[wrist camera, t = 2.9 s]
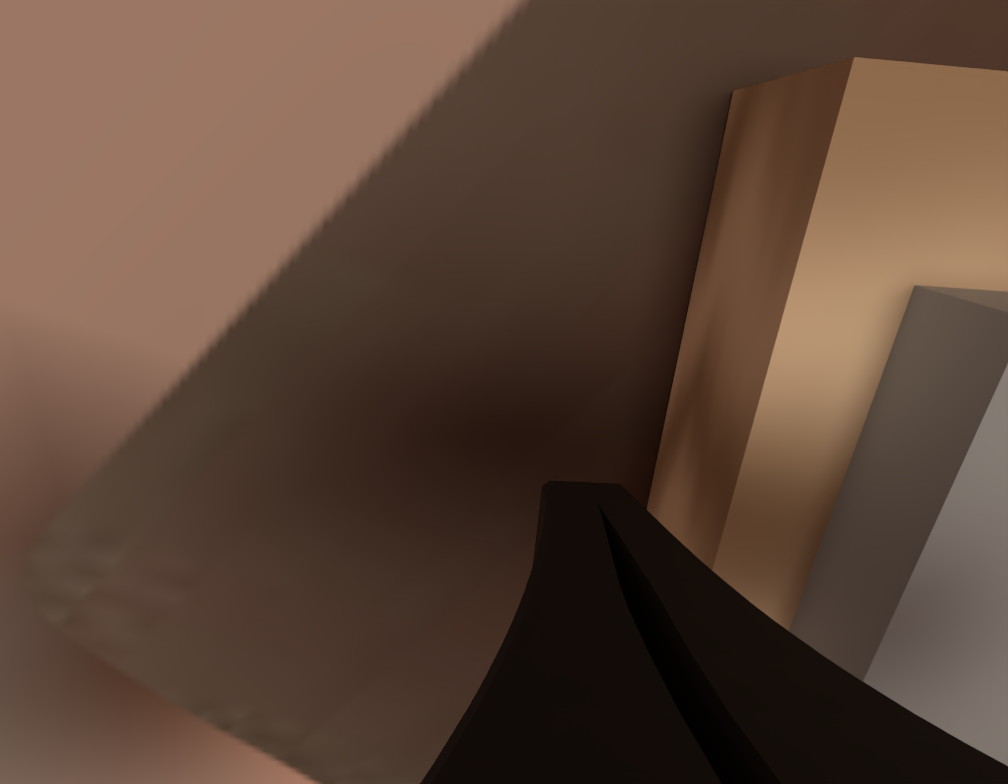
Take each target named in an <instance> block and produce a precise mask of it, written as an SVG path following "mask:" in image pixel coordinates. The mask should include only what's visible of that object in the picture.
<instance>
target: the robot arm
mask: <svg viewBox="0 0 1008 784" xmlns="http://www.w3.org/2000/svg"><path fill="white" fill-rule="evenodd" d="M420 784H1008V766H1007V765H1005V764H1003V763H1001V762H999V761H997V760H996V759H994V758H992V757H990V756H988V755H986V754H985V753H983V752H981V751H979V750H977V749H975V748H974V747H972V746H970V745H968V744H966V743H964V742H963V741H961V740H959V739H957V738H956V737H954V736H952V735H951V734H949V733H947V732H945V731H944V730H942V729H940V728H938V727H937V726H935V725H933V724H932V723H930V722H928V721H926V720H925V719H923V718H921V717H919V716H918V715H916V714H914V713H913V712H911V711H909V710H908V709H906V708H905V707H903V706H901V705H900V704H898V703H897V702H895V701H893V700H892V699H890V698H888V697H887V696H885V695H884V694H882V693H880V692H879V691H877V690H876V689H874V688H872V687H871V686H869V685H868V684H866V683H864V682H863V681H861V680H860V679H858V678H856V677H855V676H853V675H852V674H850V673H849V672H847V671H846V670H844V669H843V668H841V667H840V666H838V665H837V664H835V663H834V662H832V661H831V660H829V659H827V658H826V657H825V656H823V655H822V654H820V653H819V652H817V651H816V650H815V649H813V648H812V647H810V646H809V645H808V644H806V643H805V642H803V641H802V640H801V639H799V638H798V637H796V636H795V635H794V634H792V633H791V632H789V631H788V630H787V629H785V628H784V627H782V626H781V625H780V624H778V623H777V622H775V621H774V620H773V619H771V618H770V617H769V616H768V615H766V614H765V613H764V612H762V611H761V610H760V609H758V608H757V607H756V606H755V605H753V604H752V603H751V602H750V601H748V600H747V599H746V598H745V597H743V596H742V595H741V594H740V593H739V592H737V591H736V590H735V589H734V588H733V587H731V586H730V585H729V584H728V583H726V582H725V581H724V580H723V579H722V578H720V577H719V576H718V575H717V574H716V573H715V572H713V571H712V570H711V569H710V568H709V567H708V566H707V565H705V564H704V563H703V562H702V561H701V560H700V559H699V558H697V557H696V556H695V555H694V554H693V553H692V552H691V551H690V550H689V549H688V548H686V547H685V546H684V545H683V544H682V543H681V542H680V541H679V540H678V539H677V538H676V537H675V536H674V535H673V534H671V533H670V532H669V531H668V530H667V529H666V528H665V527H664V526H663V525H662V524H661V523H660V522H659V521H658V520H657V519H656V518H655V517H654V516H653V515H652V514H651V513H650V512H649V511H648V510H646V509H645V508H644V507H643V506H642V505H641V504H640V503H639V502H638V501H637V500H636V499H635V498H634V497H633V496H632V495H631V494H630V493H629V492H628V491H627V490H626V489H624V488H623V487H622V486H621V485H620V484H607V483H586V482H565V481H549V482H547V483H546V484H545V485H543V486H542V492H541V501H540V509H539V518H538V527H537V535H536V544H535V552H534V561H533V568H532V571H531V574H530V577H529V580H528V583H527V586H526V589H525V592H524V594H523V597H522V599H521V602H520V605H519V607H518V610H517V612H516V614H515V617H514V619H513V621H512V624H511V626H510V628H509V630H508V632H507V635H506V637H505V639H504V641H503V643H502V645H501V647H500V649H499V651H498V653H497V655H496V657H495V659H494V661H493V663H492V665H491V667H490V669H489V671H488V673H487V675H486V677H485V679H484V681H483V683H482V684H481V686H480V688H479V690H478V692H477V693H476V695H475V697H474V699H473V700H472V702H471V704H470V706H469V707H468V709H467V711H466V712H465V714H464V715H463V717H462V719H461V720H460V722H459V724H458V725H457V727H456V728H455V730H454V732H453V733H452V735H451V736H450V738H449V740H448V741H447V743H446V745H445V746H444V748H443V749H442V751H441V753H440V754H439V756H438V758H437V759H436V761H435V762H434V764H433V765H432V767H431V768H430V770H429V771H428V773H427V774H426V776H425V777H424V779H423V780H422V782H421V783H420Z"/></svg>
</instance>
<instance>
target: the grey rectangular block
mask: <svg viewBox="0 0 1008 784" xmlns="http://www.w3.org/2000/svg"><path fill="white" fill-rule="evenodd" d="M789 632H791V633H792V634H794V635H795V636H796V637H798V638H799V639H801V640H802V641H803V642H805V643H806V644H808V645H809V646H810V647H812V648H813V649H815V650H816V651H817V652H819V653H820V654H822V655H823V656H825V657H826V658H827V659H829V660H831V661H832V662H834V663H835V664H837V665H838V666H840V667H841V668H843V669H844V670H846V671H847V672H849V673H850V674H852V675H853V676H855V677H856V678H858V679H860V680H861V681H863V682H864V683H866V684H868V685H869V686H871V687H872V688H874V689H876V690H877V691H879V692H880V693H882V694H884V695H885V696H887V697H888V698H890V699H892V700H893V701H895V702H897V703H898V704H900V705H901V706H903V707H905V708H906V709H908V710H909V711H911V712H913V713H914V714H916V715H918V716H919V717H921V718H923V719H925V720H926V721H928V722H930V723H932V724H933V725H935V726H937V727H938V728H940V729H942V730H944V731H945V732H947V733H949V734H951V735H952V736H954V737H956V738H957V739H959V740H961V741H963V742H964V743H966V744H968V745H970V746H972V747H974V748H975V749H977V750H979V751H981V752H983V753H985V754H986V755H988V756H990V757H992V758H994V759H996V760H997V761H999V762H1001V763H1003V764H1005V765H1007V766H1008V292H1006V291H991V290H977V289H962V288H948V287H934V286H919V285H915V286H914V288H913V291H912V294H911V297H910V299H909V302H908V305H907V308H906V310H905V313H904V316H903V319H902V321H901V324H900V327H899V330H898V332H897V335H896V338H895V341H894V343H893V346H892V349H891V352H890V354H889V357H888V360H887V362H886V365H885V368H884V371H883V373H882V376H881V379H880V382H879V384H878V387H877V390H876V393H875V395H874V398H873V401H872V404H871V406H870V409H869V412H868V415H867V417H866V420H865V423H864V426H863V428H862V431H861V434H860V437H859V439H858V442H857V445H856V448H855V450H854V453H853V456H852V459H851V461H850V464H849V467H848V470H847V472H846V475H845V478H844V481H843V483H842V486H841V489H840V492H839V494H838V497H837V500H836V503H835V505H834V508H833V511H832V514H831V516H830V519H829V522H828V525H827V527H826V530H825V533H824V536H823V538H822V541H821V544H820V547H819V549H818V552H817V555H816V558H815V560H814V563H813V566H812V569H811V571H810V574H809V577H808V580H807V582H806V585H805V588H804V591H803V593H802V596H801V599H800V602H799V604H798V607H797V610H796V613H795V615H794V618H793V621H792V624H791V626H790V629H789Z"/></svg>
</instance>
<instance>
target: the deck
mask: <svg viewBox="0 0 1008 784" xmlns="http://www.w3.org/2000/svg"><path fill="white" fill-rule="evenodd" d="M915 285H919V286H934V287H948V288H962V289H977V290H991V291H1006V292H1008V71H998V70H987V69H976V68H965V67H955V66H944V65H933V64H922V63H911V62H901V61H890V60H879V59H868V58H857V57H853V58H850V59H846V60H842V61H839V62H835V63H832V64H828V65H825V66H821V67H817V68H814V69H810V70H807V71H803V72H800V73H796V74H793V75H789V76H785V77H782V78H778V79H775V80H771V81H768V82H764V83H760V84H757V85H753V86H750V87H746V88H743V89H739V90H735V91H733V95H732V99H731V104H730V109H729V114H728V119H727V124H726V128H725V133H724V138H723V143H722V148H721V153H720V157H719V162H718V167H717V172H716V177H715V182H714V186H713V191H712V196H711V201H710V206H709V211H708V215H707V220H706V225H705V230H704V235H703V240H702V244H701V249H700V254H699V259H698V264H697V269H696V273H695V278H694V283H693V288H692V293H691V298H690V302H689V307H688V312H687V317H686V322H685V326H684V331H683V336H682V341H681V346H680V351H679V355H678V360H677V365H676V370H675V375H674V380H673V384H672V389H671V394H670V399H669V404H668V409H667V413H666V418H665V423H664V428H663V433H662V438H661V442H660V447H659V452H658V457H657V462H656V467H655V471H654V476H653V481H652V486H651V491H650V496H649V500H648V505H647V510H648V511H649V512H650V513H651V514H652V515H653V516H654V517H655V518H656V519H657V520H658V521H659V522H660V523H661V524H662V525H663V526H664V527H665V528H666V529H667V530H668V531H669V532H670V533H671V534H673V535H674V536H675V537H676V538H677V539H678V540H679V541H680V542H681V543H682V544H683V545H684V546H685V547H686V548H688V549H689V550H690V551H691V552H692V553H693V554H694V555H695V556H696V557H697V558H699V559H700V560H701V561H702V562H703V563H704V564H705V565H707V566H708V567H709V568H710V569H711V570H712V571H713V572H715V573H716V574H717V575H718V576H719V577H720V578H722V579H723V580H724V581H725V582H726V583H728V584H729V585H730V586H731V587H733V588H734V589H735V590H736V591H737V592H739V593H740V594H741V595H742V596H743V597H745V598H746V599H747V600H748V601H750V602H751V603H752V604H753V605H755V606H756V607H757V608H758V609H760V610H761V611H762V612H764V613H765V614H766V615H768V616H769V617H770V618H771V619H773V620H774V621H775V622H777V623H778V624H780V625H781V626H782V627H784V628H785V629H787V630H788V631H789V629H790V626H791V624H792V621H793V618H794V615H795V613H796V610H797V607H798V604H799V602H800V599H801V596H802V593H803V591H804V588H805V585H806V582H807V580H808V577H809V574H810V571H811V569H812V566H813V563H814V560H815V558H816V555H817V552H818V549H819V547H820V544H821V541H822V538H823V536H824V533H825V530H826V527H827V525H828V522H829V519H830V516H831V514H832V511H833V508H834V505H835V503H836V500H837V497H838V494H839V492H840V489H841V486H842V483H843V481H844V478H845V475H846V472H847V470H848V467H849V464H850V461H851V459H852V456H853V453H854V450H855V448H856V445H857V442H858V439H859V437H860V434H861V431H862V428H863V426H864V423H865V420H866V417H867V415H868V412H869V409H870V406H871V404H872V401H873V398H874V395H875V393H876V390H877V387H878V384H879V382H880V379H881V376H882V373H883V371H884V368H885V365H886V362H887V360H888V357H889V354H890V352H891V349H892V346H893V343H894V341H895V338H896V335H897V332H898V330H899V327H900V324H901V321H902V319H903V316H904V313H905V310H906V308H907V305H908V302H909V299H910V297H911V294H912V291H913V288H914V286H915Z"/></svg>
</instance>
